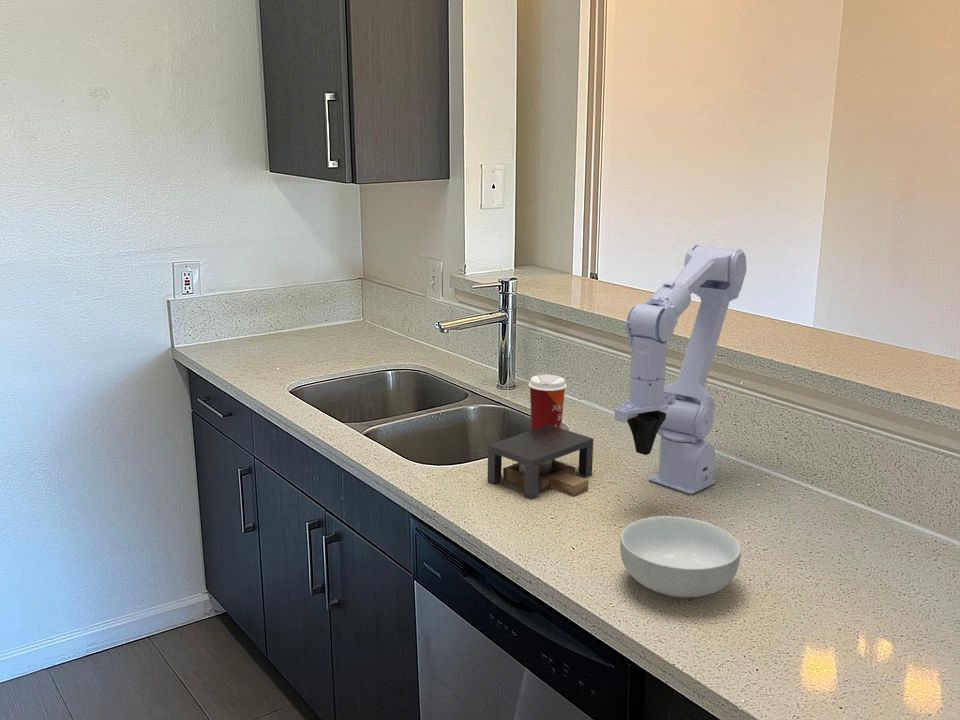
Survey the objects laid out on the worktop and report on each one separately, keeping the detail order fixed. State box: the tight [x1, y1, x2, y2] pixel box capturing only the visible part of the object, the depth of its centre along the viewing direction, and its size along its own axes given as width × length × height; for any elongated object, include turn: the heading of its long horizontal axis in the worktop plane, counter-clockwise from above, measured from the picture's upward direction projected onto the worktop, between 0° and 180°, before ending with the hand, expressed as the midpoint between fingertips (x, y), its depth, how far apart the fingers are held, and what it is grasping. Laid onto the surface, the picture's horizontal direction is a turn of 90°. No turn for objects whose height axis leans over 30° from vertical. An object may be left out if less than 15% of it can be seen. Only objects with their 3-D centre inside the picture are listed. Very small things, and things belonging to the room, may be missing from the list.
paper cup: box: [528, 374, 567, 430], centre depth 187 cm, size 8×8×14 cm
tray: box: [502, 459, 589, 497], centre depth 169 cm, size 14×10×4 cm
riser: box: [487, 425, 594, 500], centre depth 170 cm, size 11×17×7 cm, turn 134°
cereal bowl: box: [619, 515, 742, 599], centre depth 132 cm, size 17×17×7 cm
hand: (643, 452), depth 156 cm, fingers closed
